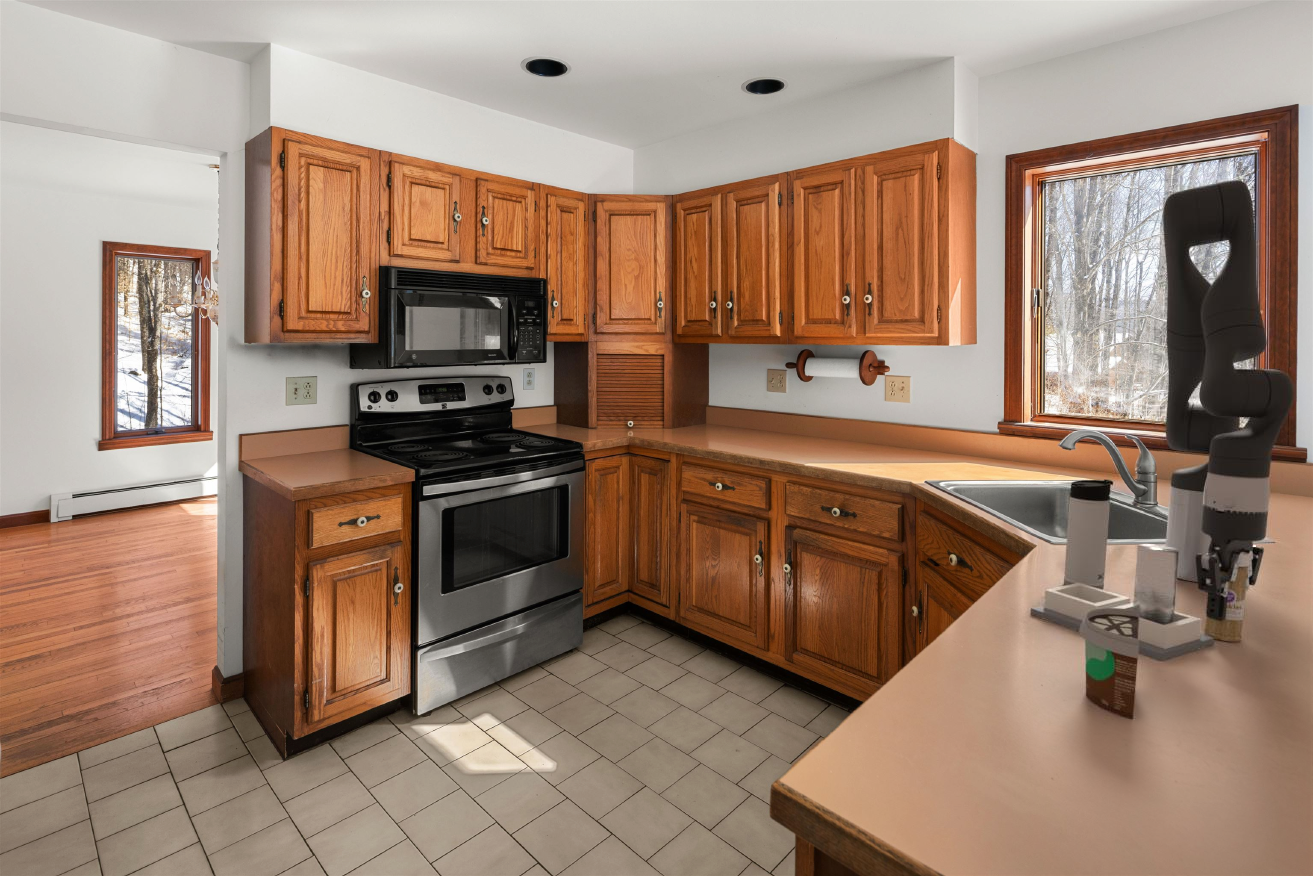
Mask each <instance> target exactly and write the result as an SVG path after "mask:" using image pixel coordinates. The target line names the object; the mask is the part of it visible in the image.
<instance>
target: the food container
mask: <svg viewBox="0 0 1313 876" xmlns="http://www.w3.org/2000/svg"><path fill="white" fill-rule="evenodd" d="M1139 616H1140V611H1138V610H1132V609H1122V608H1101V609H1095V610H1091V611H1089V612H1088V613H1087V614H1086V616H1085V617H1084V618H1083V620H1082V623H1081V626H1080V629H1079V631H1078V633H1079V634H1080V636H1082V637H1083V639H1084V640H1085V641H1084V642H1085V647H1084V651H1085V653H1084V655H1085V657H1084V658H1085V696H1086V698H1087V699H1088V700H1089V701H1090V702H1091V703H1092V704H1094V706H1097V707H1099V708H1100V709H1103V710H1104V711H1106V712H1109V713H1112V714H1114V715H1117V716H1119V717H1124V718H1127V719H1131V720H1134V708H1135V697H1136V696H1135V694H1136V685H1137V684H1136V683H1137V671H1138V662H1139V661H1138V659H1139V653H1138V650H1139V639H1138V629H1139Z"/></svg>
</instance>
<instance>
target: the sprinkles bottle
mask: <svg viewBox="0 0 1313 876" xmlns="http://www.w3.org/2000/svg"><path fill="white" fill-rule="evenodd" d="M1241 553H1243V556H1242V559H1241V563H1240V564H1238V567H1239V568H1238V572H1237V575H1236V579H1235V581H1234V582H1232V583H1230V586H1229V590H1228V594H1227V596H1226V597H1227V607H1226V617H1225V620H1222V621H1218V620H1214V619H1211V618H1208V617H1207V616H1206V615H1205V626H1204V630H1203V634H1204V635H1206V636H1210V637H1213V638H1214V640H1218V641H1219V640H1220V641H1224V642H1231V643H1232V642H1240V641H1241V640H1242V637H1243V635H1242V629H1243V627H1242V626H1243V620H1244V615H1245V605H1246V604H1245V603H1246V595H1247V592H1246V581H1247V569H1248V568H1249V565H1250V554H1249V553H1245V552H1241ZM1231 561H1232V560H1231ZM1228 573H1229V572H1228ZM1228 573H1226V572H1222V571H1220V574H1222V575H1227V574H1228ZM1221 586H1222V580H1221ZM1207 598H1208V596H1207ZM1207 598H1206V599H1207Z"/></svg>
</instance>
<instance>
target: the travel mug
mask: <svg viewBox="0 0 1313 876" xmlns="http://www.w3.org/2000/svg"><path fill="white" fill-rule="evenodd" d="M1111 486H1114V481H1113V480H1110V479H1103V480H1102V479H1085V480H1084V479H1082V480H1075V481H1072V482H1071V485H1070V488H1069V489H1070V493H1069V494H1070V495H1069V501H1068V514H1067V515H1068V517H1067V531H1066V532H1067V533H1066V547H1065V548H1066V549H1065V561H1064V577H1063V578H1064V579H1063V584H1064V586H1066V585H1071V584H1075V583H1081V584H1084V585H1088V586H1091V587H1095V588H1098V589H1101V590H1104V587H1105V581H1104V580H1105V572H1106V559H1107V546H1108V532H1109V520H1110V507H1111V505H1110V502H1111V496H1110V494H1111V488H1112V487H1111Z"/></svg>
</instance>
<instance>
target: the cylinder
mask: <svg viewBox="0 0 1313 876" xmlns="http://www.w3.org/2000/svg"><path fill="white" fill-rule="evenodd" d="M1136 553H1137V554H1136V565H1135V566H1136V567H1135V577H1134V578H1135V580H1134V592H1133V593H1134V594H1133V602H1132V603H1133V610H1138V611H1140V616H1139V617H1140V618H1143V619H1146V620H1149V621H1152V622H1156V623H1159V624H1162V625H1166V624H1169V623H1173V621H1174V611H1175V608H1176V599H1177V598H1176V596H1177V584H1178V578H1177V575H1178V563H1179V550H1178V549H1175V548H1172V547H1168V546H1166V545H1163V544H1162V545H1161V544H1156V543H1155V544H1154V543H1151V544H1150V543H1141V544H1138V545H1137V552H1136Z"/></svg>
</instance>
